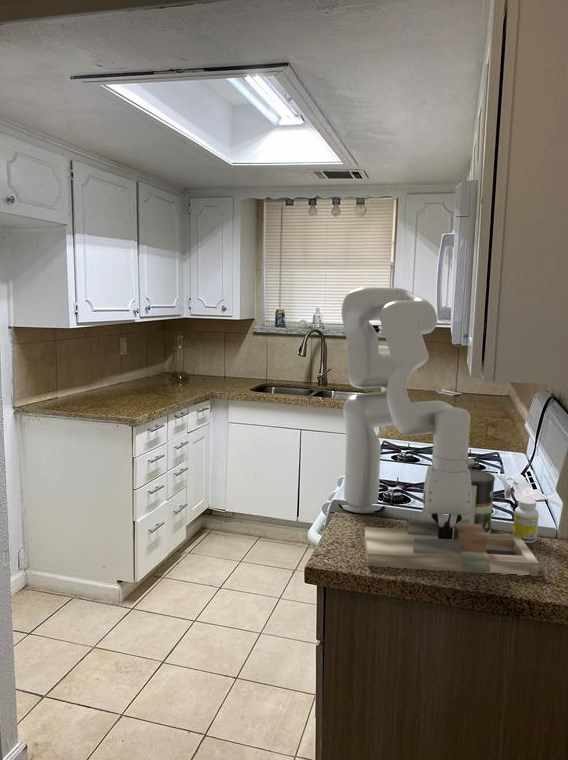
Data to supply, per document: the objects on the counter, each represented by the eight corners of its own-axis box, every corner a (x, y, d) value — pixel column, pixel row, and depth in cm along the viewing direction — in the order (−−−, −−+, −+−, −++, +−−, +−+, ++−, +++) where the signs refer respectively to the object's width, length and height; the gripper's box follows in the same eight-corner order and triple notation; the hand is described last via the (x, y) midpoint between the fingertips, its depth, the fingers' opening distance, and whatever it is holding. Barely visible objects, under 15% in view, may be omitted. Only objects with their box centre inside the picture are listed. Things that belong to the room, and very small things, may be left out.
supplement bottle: (518, 532, 145) (521, 495, 143) (540, 539, 141) (543, 500, 139) (508, 538, 141) (511, 500, 140) (530, 545, 137) (534, 506, 136)
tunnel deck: (364, 538, 140) (365, 515, 139) (518, 547, 136) (520, 523, 135) (367, 566, 126) (368, 540, 125) (538, 576, 123) (540, 549, 122)
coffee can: (487, 522, 151) (491, 470, 149) (493, 538, 141) (498, 483, 139) (447, 518, 153) (450, 467, 151) (450, 534, 143) (453, 479, 141)
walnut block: (453, 539, 133) (454, 522, 132) (480, 541, 132) (481, 524, 132) (457, 551, 127) (458, 533, 127) (485, 552, 126) (487, 535, 126)
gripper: (480, 459, 131) (474, 536, 133) (413, 457, 132) (409, 533, 135) (488, 470, 123) (482, 551, 126) (417, 467, 125) (413, 547, 128)
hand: (444, 541), depth 130 cm, fingers closed
